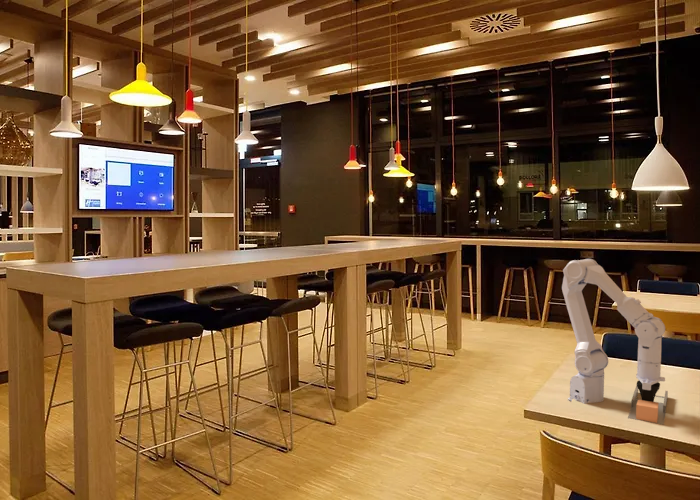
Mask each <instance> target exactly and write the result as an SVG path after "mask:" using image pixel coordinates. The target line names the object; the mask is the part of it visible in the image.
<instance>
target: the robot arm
mask: <svg viewBox="0 0 700 500" xmlns="http://www.w3.org/2000/svg"><path fill="white" fill-rule="evenodd" d="M562 272H563V278H562V284H561V290H562V291H561V292H562V294H563V297H564V302H565V306H566V309H567V312H568V315H569V319H570V322H571V327H572V329H573V333H574V336H575V341H576V346H575V349H574V355H575V356H574V357H575V359H574V367H575V368H576V370H577V374H575V375H573V376H572V377H571V378H570V382H569V397H567V400H568V401H573V400H575V401H577V402H579V403H582V404H585V405H587V404H591V403H600V402H601V403H602V402H604V396H605V395H604V394H605V392H604V391H605V369H606V368H607V367H608V366H609V357H608V355H607V354H606V353H605V351H604V350H603V347H602V345H601V344H600V343H599V342H598V341H597V340H596V336H595V334H594V330H593V327H592V323H591V319H590V315H589V312H588V309H587V306H586V301H585V298H584V295H583V289H584V288H585V286H587V284H591V285H595V286H597V287H599V288H600V289H601V291H603V292H604V294H606V296H608V297H609V298H610V299H612V301H614V303H616V307H617V308H616V310H617V311H618V313H620V314H621V316H622V317H624V319H625V320H626V321H627V322H628V323H629V324H630V325H631V326H632V327H633V328H634V333H635V335H636V336H637V338H638V341H637V343H638V344H637V363H636V364H637V366H636V368H637V370H636V372H637V373H636V376H635V377H636V379H637V382H636V386H637V387H638V392H639V393H640V394H639V395H640V399H642V400H645V401H651V402H655V398H656V396H657V392H659V389H660V388H661V387H660V386H661V383H660V382H665V381H666V377H664V376H661V371H662V369H661V368H662V338H663V337H662V336H664V334H665V333H666V325H665V323H664V322H663V321H662V318H659V317H656V316H654V314H653V313H652V312H649V311H648V310H647V309H646V308H645V307H644V306H643V305H642V302H641V300H640V299H638V298H637V299H636V298H635V297H633V296H632V297H631V296H627V295H626V294H625V293H624V291H623V290H622V289H621V288H620V287H619V286H618V284H616V283H615V281H613V279H612V278H611V277H610V276H609V275H608V273H606V271H605V269H604V267H603V266H601V265H600V264H598V263H597V261H596V260H595V259H592V258H585V259H580V260H579V259H577V260H576V259H574V260H570V261H569V262H568V263H567V264H566V266H565V267H564V268H563V269H562ZM655 395H656V396H655Z"/></svg>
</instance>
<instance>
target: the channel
mask: <svg viewBox="0 0 700 500" xmlns="http://www.w3.org/2000/svg"><path fill="white" fill-rule="evenodd" d="M668 394H669V392H668V390H665V392H664V396H661V395H657V394H656V395H655V398H657V397H658V398H662V399H663V402H659V401H656V402H657V403H658V419H657V423H655V422H650V421H645V420H639V419H636V405H637V401H638V399H639V400H642V399H641V398H638V395H641V394H640V392H639V389H638V387H637V385H636V386H635V389H634V392H633V394H632V398H631V403H630V404H631V405H630V410H629V413H628V416H627V419H631V420H636V421H640V422H647V423H653V424H656V425H657V424H658V425H665V418H666V410H667V404H668V396H669V395H668Z"/></svg>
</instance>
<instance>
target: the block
mask: <svg viewBox="0 0 700 500" xmlns="http://www.w3.org/2000/svg"><path fill="white" fill-rule="evenodd" d="M637 399H638V401H637V405H636V419H639V420H638V421H641V420H645V421H644V422H646V421H650V422H649V423H651V422H655V423H654V424H657V419H658V403H657V402H658V401H654V402H651V401H645V400H639V399H640V398H637Z"/></svg>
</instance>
